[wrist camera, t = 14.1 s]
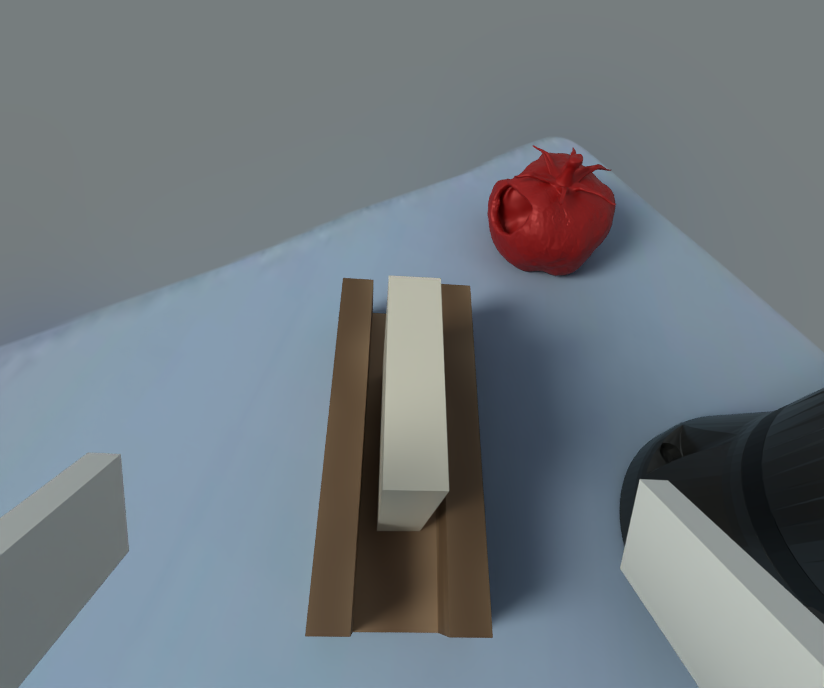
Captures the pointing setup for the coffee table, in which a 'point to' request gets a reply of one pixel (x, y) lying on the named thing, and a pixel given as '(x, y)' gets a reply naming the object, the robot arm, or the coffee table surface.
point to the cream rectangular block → (412, 407)
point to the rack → (358, 494)
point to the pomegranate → (551, 214)
